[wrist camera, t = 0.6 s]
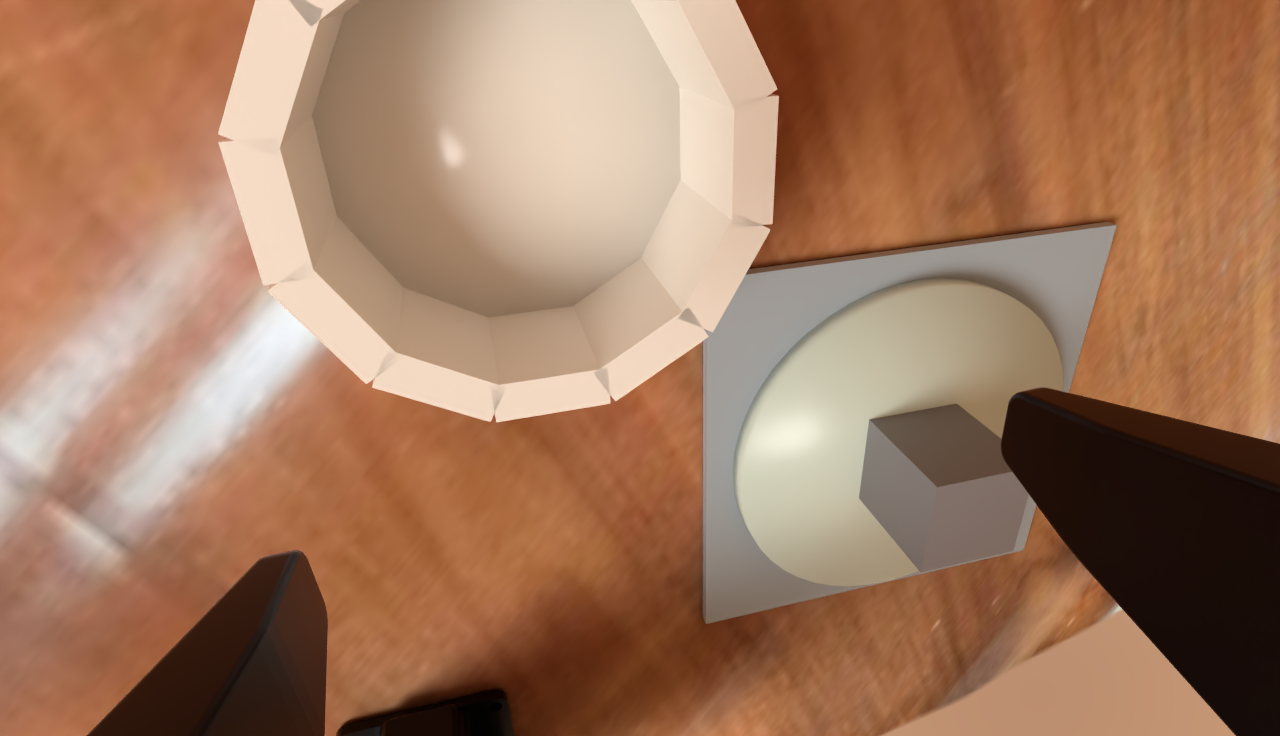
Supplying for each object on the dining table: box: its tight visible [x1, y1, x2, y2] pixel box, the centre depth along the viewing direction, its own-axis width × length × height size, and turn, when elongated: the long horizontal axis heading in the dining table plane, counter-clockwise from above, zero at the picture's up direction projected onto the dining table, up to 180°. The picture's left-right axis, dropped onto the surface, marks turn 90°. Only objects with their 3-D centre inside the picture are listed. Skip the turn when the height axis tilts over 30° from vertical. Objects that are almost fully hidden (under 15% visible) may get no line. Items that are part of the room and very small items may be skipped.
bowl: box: [218, 0, 779, 422], centre depth 17 cm, size 11×11×5 cm
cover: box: [733, 278, 1063, 586], centre depth 25 cm, size 13×13×5 cm
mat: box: [703, 222, 1117, 624], centre depth 27 cm, size 15×15×1 cm
